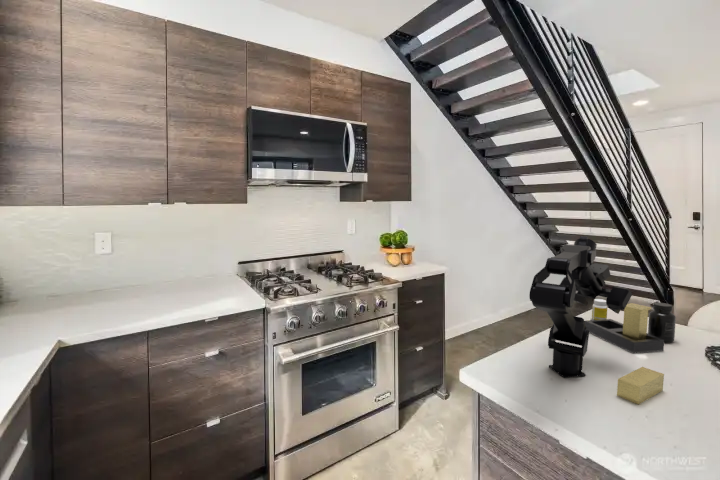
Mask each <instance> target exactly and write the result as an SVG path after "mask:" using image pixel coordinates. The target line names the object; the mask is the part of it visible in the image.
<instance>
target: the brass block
mask: <svg viewBox="0 0 720 480" xmlns="http://www.w3.org/2000/svg"><path fill="white" fill-rule="evenodd" d="M650 310H652V307H651V306H647V305H642V304H638V303H633V302H628V304H627V305H626V307H625V309H623V321H622V322H623V323H622V324H623V336H625V337H628V338H630V339H632V340H635V341H636V340H646V334H647V333H648V322H649V311H650Z"/></svg>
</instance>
